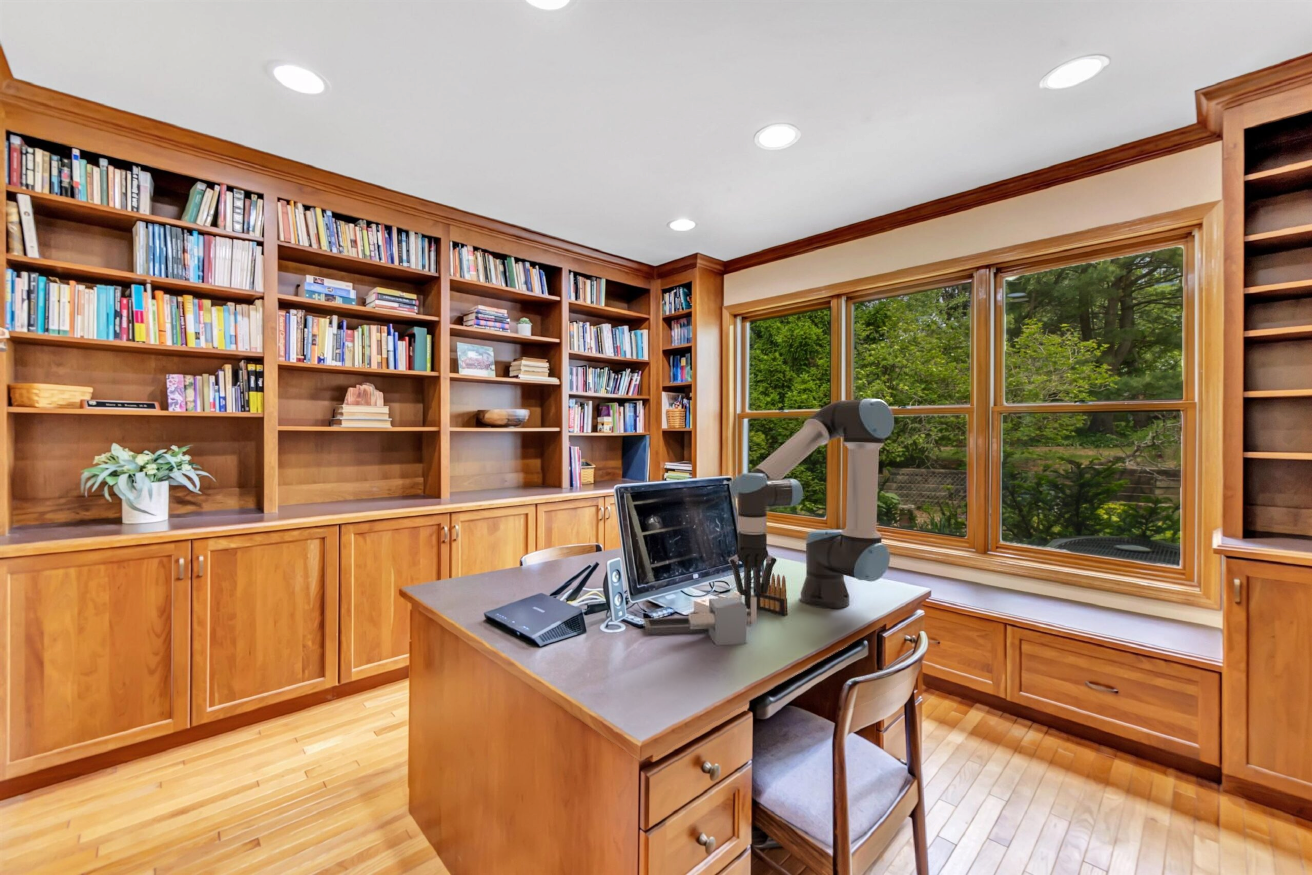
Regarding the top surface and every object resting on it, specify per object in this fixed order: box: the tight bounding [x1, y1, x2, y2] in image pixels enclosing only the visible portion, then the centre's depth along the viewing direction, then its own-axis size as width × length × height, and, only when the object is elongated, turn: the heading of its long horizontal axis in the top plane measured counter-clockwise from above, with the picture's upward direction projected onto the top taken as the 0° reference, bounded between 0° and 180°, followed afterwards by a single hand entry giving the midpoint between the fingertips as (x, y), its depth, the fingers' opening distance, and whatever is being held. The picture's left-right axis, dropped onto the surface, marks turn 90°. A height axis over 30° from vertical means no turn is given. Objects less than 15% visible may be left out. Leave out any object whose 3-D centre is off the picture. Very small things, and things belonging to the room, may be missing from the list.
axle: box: [687, 611, 752, 629], centre depth 145 cm, size 16×4×4 cm, turn 98°
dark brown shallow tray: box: [643, 616, 709, 636], centre depth 152 cm, size 21×7×2 cm, turn 98°
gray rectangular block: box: [708, 597, 748, 646], centre depth 145 cm, size 8×8×10 cm
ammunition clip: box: [757, 570, 789, 617], centre depth 167 cm, size 11×2×12 cm, turn 46°
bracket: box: [693, 590, 743, 614], centre depth 164 cm, size 13×7×8 cm, turn 39°
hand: (752, 620), depth 146 cm, fingers closed
